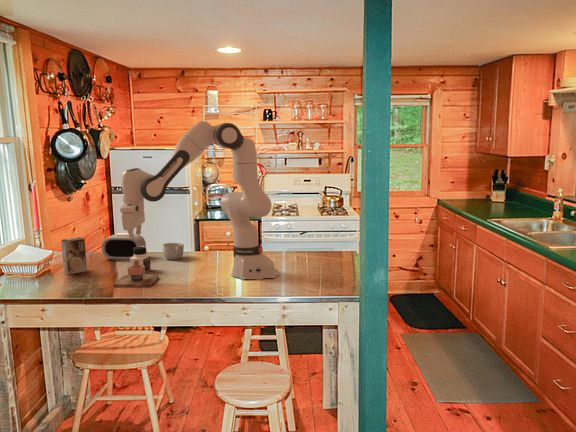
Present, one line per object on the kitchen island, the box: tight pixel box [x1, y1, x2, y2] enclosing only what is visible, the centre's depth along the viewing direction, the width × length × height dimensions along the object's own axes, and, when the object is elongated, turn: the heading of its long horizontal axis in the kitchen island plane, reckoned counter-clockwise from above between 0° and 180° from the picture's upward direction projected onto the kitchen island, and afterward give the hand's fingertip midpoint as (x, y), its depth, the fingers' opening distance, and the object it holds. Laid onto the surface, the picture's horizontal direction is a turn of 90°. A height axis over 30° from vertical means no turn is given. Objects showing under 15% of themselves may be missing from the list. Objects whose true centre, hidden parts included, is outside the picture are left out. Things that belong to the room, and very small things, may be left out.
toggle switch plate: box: [113, 260, 160, 288], centre depth 225 cm, size 16×14×10 cm
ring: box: [127, 265, 146, 275], centre depth 225 cm, size 6×6×3 cm
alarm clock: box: [101, 232, 147, 261], centre depth 267 cm, size 21×10×13 cm, turn 88°
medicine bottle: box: [129, 246, 152, 274], centre depth 243 cm, size 7×7×12 cm
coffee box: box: [61, 236, 88, 275], centre depth 241 cm, size 9×6×16 cm
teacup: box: [162, 242, 185, 261], centre depth 266 cm, size 14×11×8 cm
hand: (135, 236), depth 222 cm, fingers open, 8 cm apart
